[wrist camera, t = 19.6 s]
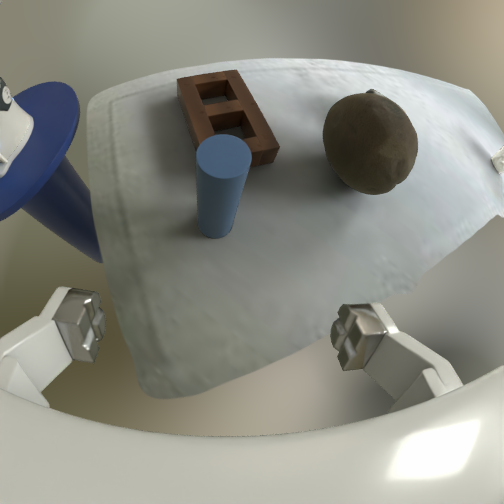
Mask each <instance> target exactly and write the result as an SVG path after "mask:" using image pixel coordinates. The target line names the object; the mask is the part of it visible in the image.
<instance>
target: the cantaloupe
mask: <svg viewBox="0 0 504 504" xmlns="http://www.w3.org/2000/svg"><path fill="white" fill-rule="evenodd" d="M323 142H324V147H325V153H326V156H327V158H328V160H329V162H330V164H331V166H332V168H333V169H334V171H335V172H336V174H337V175H338V176H339V177H340V178H341V180H342V181H344V182H345V183H346V184H347V185H348V186H350V187H351V188H353V189H355V190H357V191H359V192H361V193H365V194H370V195H378V194H383V193H387V192H389V191H391V190H392V189H393V188H394V187H395V186H396V184H399V183H401V182H402V181H404V180H405V179H406V178H407V176H408V175H409V173H410V171H411V170H412V168H413V165H414V163H415V159H416V156H417V152H418V139H417V133H416V131H415V129H414V127H413V125H412V123H411V121H410V119H409V118H408V116H407V115H406V113H405V112H404V111H403V110H402V109H401V108H400V107H399V106H398V105H397V104H396V103H394V102H393V101H391V100H390V99H388V98H386V97H384V96H381V95H377V94H373V93H360V94H354V95H350V96H347V97H345V98H343V99H341V100H339V101H338V102H337V103H335V104H334V105H333V106H332V107H331V109H330V110H329V112H328V114H327V117H326V119H325V123H324V128H323Z"/></svg>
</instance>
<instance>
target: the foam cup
mask: <svg viewBox="0 0 504 504" xmlns="http://www.w3.org/2000/svg"><path fill="white" fill-rule="evenodd" d="M492 162H493V165H494V167H495V168H496V170H497V171H498V172H499V173H500V174H502V173H504V146H503V147H502V148H501V149H500V150H499V151H498V152H497V153H496V154H495V155H494V156H493V157H492Z"/></svg>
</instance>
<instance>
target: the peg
mask: <svg viewBox="0 0 504 504" xmlns="http://www.w3.org/2000/svg"><path fill="white" fill-rule="evenodd" d="M251 159H252V155H251V151H250V149H249V147H248V146H247V144H246V143H245V142H243V141H242V140H241V139H239V138H237V137H235V136H232V135H227V134H219V135H214V136H211V137H209V138H207V139H205V140H204V141H203V142H202V143H201V144H200V145H199V147H198V149H197V152H196V188H197V215H198V227H199V229H200V231H201V232H202V233H203V234H204V235H205V236H207V237H209V238H221V237H223V236H225V235H227V234H228V233H229V231H230V230H231V228H232V225H233V221H234V218H235V214H236V211H237V207H238V204H239V201H240V197H241V194H242V190H243V187H244V184H245V180H246V177H247V174H248V171H249V167H250V164H251Z"/></svg>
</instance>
